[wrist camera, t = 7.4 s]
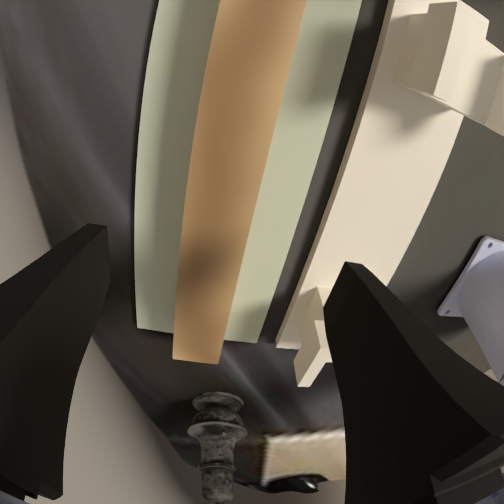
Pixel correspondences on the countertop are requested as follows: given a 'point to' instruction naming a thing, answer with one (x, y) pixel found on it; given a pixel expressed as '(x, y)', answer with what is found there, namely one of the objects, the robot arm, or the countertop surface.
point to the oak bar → (229, 163)
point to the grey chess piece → (217, 442)
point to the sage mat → (180, 147)
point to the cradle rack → (395, 154)
